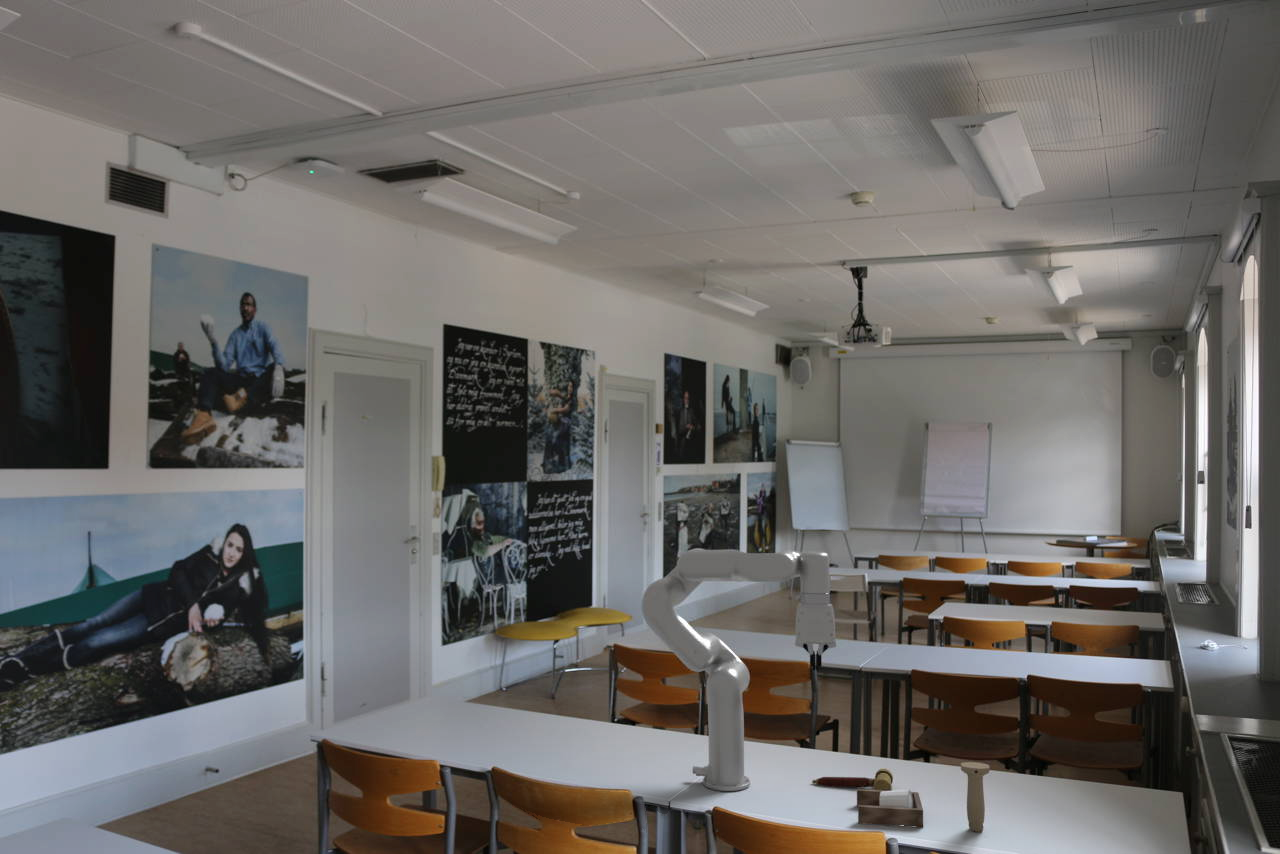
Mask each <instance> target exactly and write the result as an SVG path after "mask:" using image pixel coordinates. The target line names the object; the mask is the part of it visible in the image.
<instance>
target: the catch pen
mask: <svg viewBox="0 0 1280 854" xmlns="http://www.w3.org/2000/svg"><path fill="white" fill-rule="evenodd" d="M881 791H885V790H874V789H866V788H865V789H863V788H856V807H857V823H858V824H861V825H878V826H890V825H904V826H903V827H906V826H917V827H916V828H922V827H923V828H924V809H923V806H922V805H923V804H922V802H921V801H922V800H921V797H920V794H919V792H917V791H911V792H912V796H913V805H914V808H902V807H885V806H880V803H879V799H880V793H881Z"/></svg>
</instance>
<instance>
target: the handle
mask: <svg viewBox="0 0 1280 854" xmlns="http://www.w3.org/2000/svg"><path fill="white" fill-rule="evenodd" d="M990 769H991V768H990V765H989V764H987V763H984V762H983V763H982V762H975V761H972V762H971V761H969V762H968V761H965V762H964V761H963V762H961V763H960V770H961V771H962V772H963V773H964V774H966V776H967V792H966V815H967V821H968V828H969V830H970V831H971V832H972V831H973V832H976V833H978V832H983V831H984V827H985V826H984V823H985V812H986V811H985V809H986V808H985V805H986V804H985V794H984V793H985V792H984V776H985V775H988V774H989V773H990V771H991V770H990Z"/></svg>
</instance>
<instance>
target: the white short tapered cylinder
mask: <svg viewBox="0 0 1280 854" xmlns="http://www.w3.org/2000/svg"><path fill="white" fill-rule="evenodd" d="M912 792H913V791H912V790H911V789H898V790H897V789H896V790H891V791H881V793H880V799H879V803H880V806H885V807H902V808H914V805H913V796H912Z"/></svg>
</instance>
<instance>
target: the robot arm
mask: <svg viewBox="0 0 1280 854" xmlns="http://www.w3.org/2000/svg"><path fill="white" fill-rule="evenodd" d="M798 577H800V592H799V593H798V594H796V593H795V595H794V599H795V600H798V601H800V603H798V604H797V607H796V616H795V642H794V645H795V647H799V648H803V649H804V650H805V651H806V652H807V653H808V654H809V666H810V667H812V671H819V670H820V668H822V659H823V658H822V655H823V653H825V652H826V651H827V650H828V649H833V648H836V647H837V641H836V621H835V611H834V610H835V609H834V607H833V604H832V603H830V599H831V598H830V596H831V595H830V593H831V592H830V591H831V590H830V557H829V554H828V553H827V552H823V551H798V550H793V549H784V550H781V551H778V552H773V553H772V552H769V553H768V552H766V553H761V552H759V553H756V552H755V553H754V552H753V553H751V552H743V551H741V550H739V549H733V548H732V549H705V548H701V547H699V548H698V547H696V548H695V547H694V548H692V549H689V550H686V551H684V552H682V553H681V554H680V555H679V557H678V558H677V561H676V565H675V567H674V568H673V569H672V570H671V571H670V572H669V573H668V574H667V575H666V576H664V577H662V578H660V579H657V580H655V581H653V582H652V583H651V584H649V585H648V587H647V588H646V589H645V591H644V593H643V596H642V601H641V611H642V616H643V618H644V621H645V623H646V625H647V626H648V628H649V629H650V630H651V631H652V632H653V633H654V634H655V635H656V636H657V637H658V638H659V639H660V640H661V641H662V642H663V643H664V644H665V646H666V647H667V648H669V650H670V651H671V652H672V653H673V654H675V656H676V657H677V658H678V659H679V660H680V661H681V662H682V663H683V665H684V666H685V667H687V669H689V670H690V671H692V672H696V673H699V672H703V671H705V672H706V673H707V674H708V678H707V680H706V685H705V687H706V688H705V693H706V701H707V713H708V714H707V715H708V716H707V717H708V718H707V719H708V720H707V722H708V723H707V725H708V764H707V765H704V766H694V765H693V766H692V774H693V775H695V776H696V777H703V779H702V784H703V785H704V786H705V787H706V788H708V789H711V790H713V791H714V790H715V791H719V792H720V791H721V792H735V791H741V790H745V789H747V788H749V787H750V785H751V779H750V778H749V777H747V776H746V775H745V725H744V724H745V721H744V717H745V716H744V704H743V692H744V691H745V690H746V689H747V688H748V686H749V685H750V684H749V683H750V680H751V677H750V676H751V675H750V672H749V669H748V667H747V665H746V664H745V663H744V662H743V660H741V659H740V657H739V656H737V654H735V653H734V651H732V649H730V648H729V647H728V646H727V645H726V643H724V642H723V641H722V639H720V638H719V637H718V636H717V635H715V634H713V633H711V632H709V631H699V632H698V631H697V630H696V629H695V628H694V627H693V626H691V625H690V623H689V622H688V621H687V620H686V619H685V618H684V617H683V616H681V615H679V614H678V613H677V612H676V611H675V609H674V607H677V606H679V605H680V604H681V603H683V602H684V601H685V600H686V599H687V598H688V597H689V596H690V595H691V594H692V593H693V592H694V591H695V590H696V589H697V588H698V587H699V586H700V585H701V584H702V583H703V582H746V583H747V582H749V583H751V582H754V583H777V582H778V583H780V582H787V581H790V580H791V579H793V578H798ZM813 644H815V645H816V644H818V648H817V651H816V653H815V650H814V645H813Z"/></svg>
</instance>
